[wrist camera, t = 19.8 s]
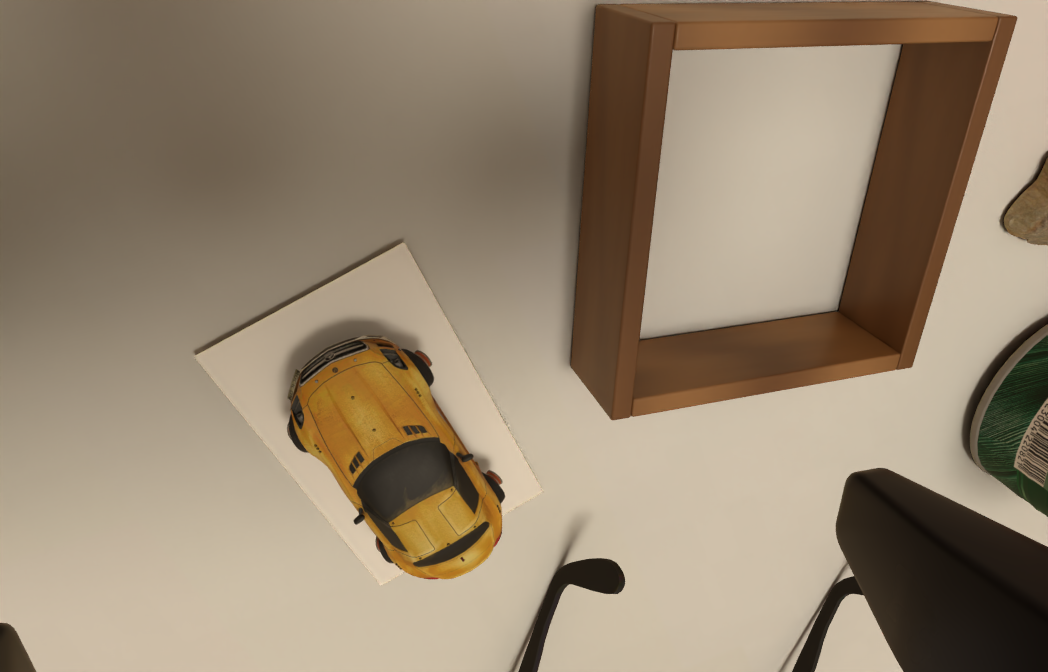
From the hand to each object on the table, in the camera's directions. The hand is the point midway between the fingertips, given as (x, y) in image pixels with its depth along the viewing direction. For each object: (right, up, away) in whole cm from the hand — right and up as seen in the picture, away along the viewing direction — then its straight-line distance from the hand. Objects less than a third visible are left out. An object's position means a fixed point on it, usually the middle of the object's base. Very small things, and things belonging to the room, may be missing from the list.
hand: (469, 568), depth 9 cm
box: (+7, +7, +15) cm, 18 cm away
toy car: (-3, 0, +15) cm, 15 cm away
